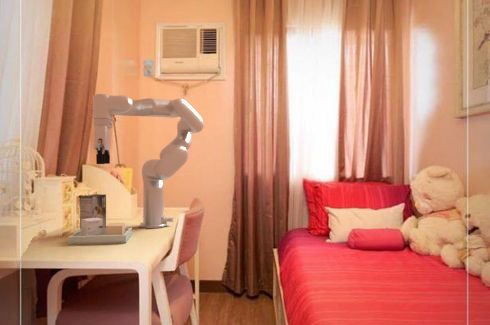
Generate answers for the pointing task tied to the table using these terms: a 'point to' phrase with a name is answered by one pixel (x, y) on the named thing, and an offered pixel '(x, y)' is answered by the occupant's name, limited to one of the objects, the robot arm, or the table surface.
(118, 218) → the table surface
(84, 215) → the coffee box
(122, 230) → the parcel
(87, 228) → the skincare box
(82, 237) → the grey-green tray
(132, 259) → the table surface
